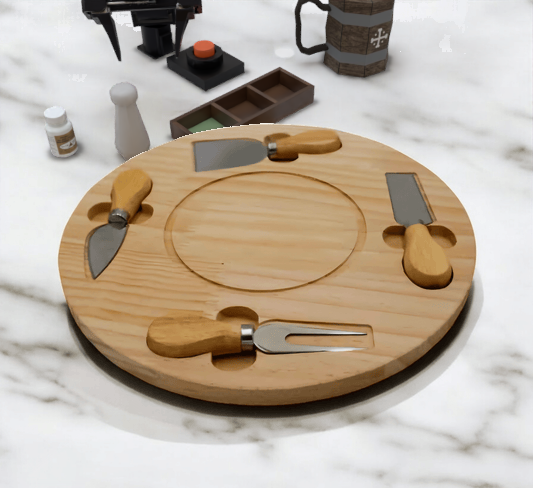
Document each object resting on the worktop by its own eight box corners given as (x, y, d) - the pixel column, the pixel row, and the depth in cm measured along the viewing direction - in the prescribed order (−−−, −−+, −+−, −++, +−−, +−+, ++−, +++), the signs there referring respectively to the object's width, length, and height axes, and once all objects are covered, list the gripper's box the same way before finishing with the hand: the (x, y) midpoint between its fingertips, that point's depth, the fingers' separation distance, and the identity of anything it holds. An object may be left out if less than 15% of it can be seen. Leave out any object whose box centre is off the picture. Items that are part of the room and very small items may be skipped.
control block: (167, 67, 130) (164, 49, 127) (206, 50, 134) (204, 32, 132) (205, 91, 123) (203, 72, 121) (244, 72, 128) (244, 54, 125)
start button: (189, 53, 126) (189, 44, 125) (205, 46, 128) (205, 38, 127) (202, 60, 124) (202, 52, 123) (219, 53, 126) (218, 45, 125)
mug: (379, 41, 137) (388, -31, 126) (397, 75, 127) (409, 0, 117) (287, 48, 135) (288, -24, 124) (298, 82, 125) (301, 8, 115)
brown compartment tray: (171, 137, 113) (169, 120, 111) (279, 82, 126) (279, 66, 123) (204, 161, 108) (203, 144, 106) (313, 102, 121) (314, 85, 118)
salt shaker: (145, 167, 107) (133, 99, 98) (112, 162, 108) (97, 95, 99) (156, 146, 111) (146, 79, 102) (124, 142, 112) (111, 75, 103)
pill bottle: (65, 161, 108) (54, 122, 103) (46, 152, 110) (34, 114, 105) (83, 147, 111) (74, 109, 106) (64, 139, 113) (54, 101, 107)
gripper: (68, -56, 95) (80, 54, 97) (197, -62, 96) (205, 47, 98) (83, -33, 106) (93, 65, 108) (198, -38, 107) (206, 59, 109)
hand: (148, 59), depth 106 cm, fingers open, 9 cm apart
